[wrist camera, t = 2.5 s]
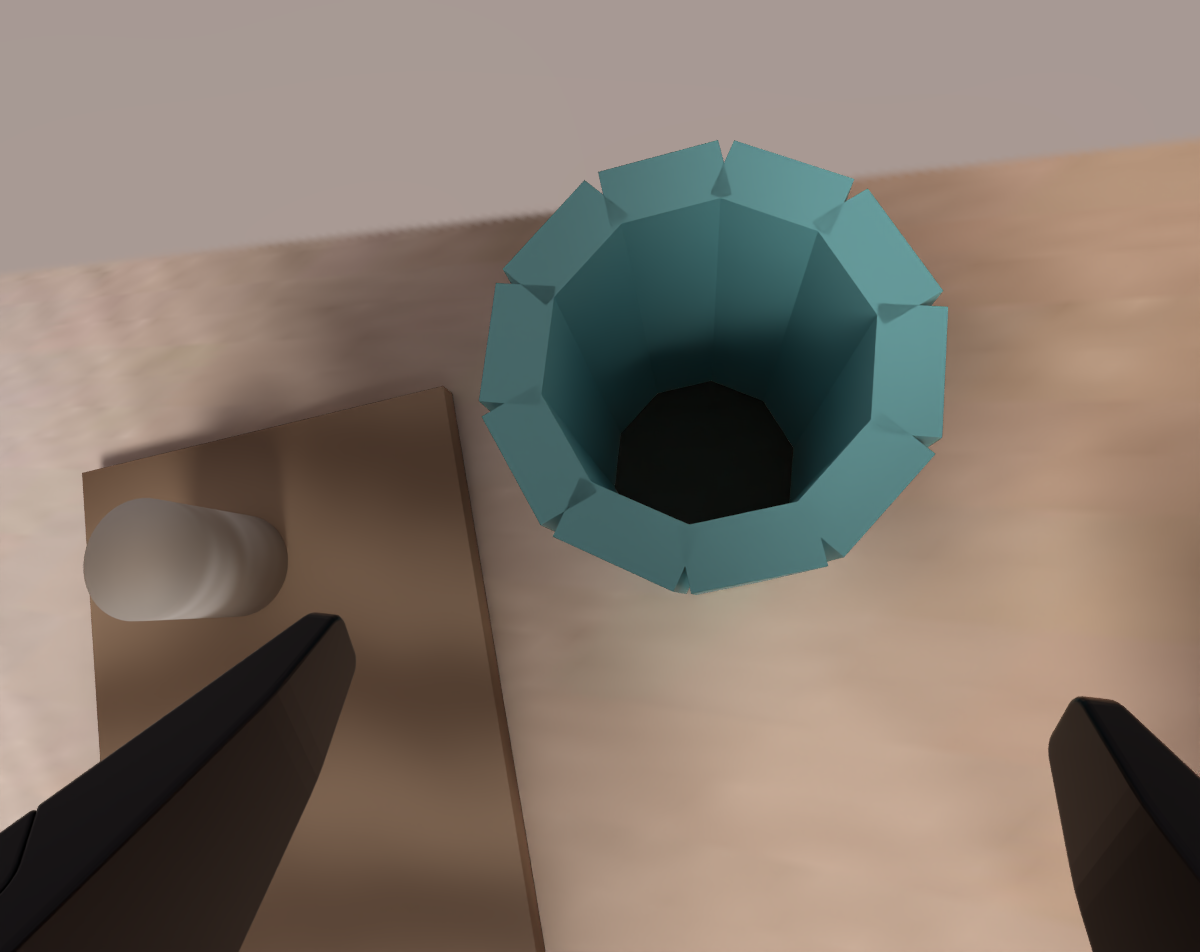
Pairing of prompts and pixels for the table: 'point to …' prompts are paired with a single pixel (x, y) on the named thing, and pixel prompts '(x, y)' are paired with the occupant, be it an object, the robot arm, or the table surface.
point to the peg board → (382, 675)
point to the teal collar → (717, 355)
